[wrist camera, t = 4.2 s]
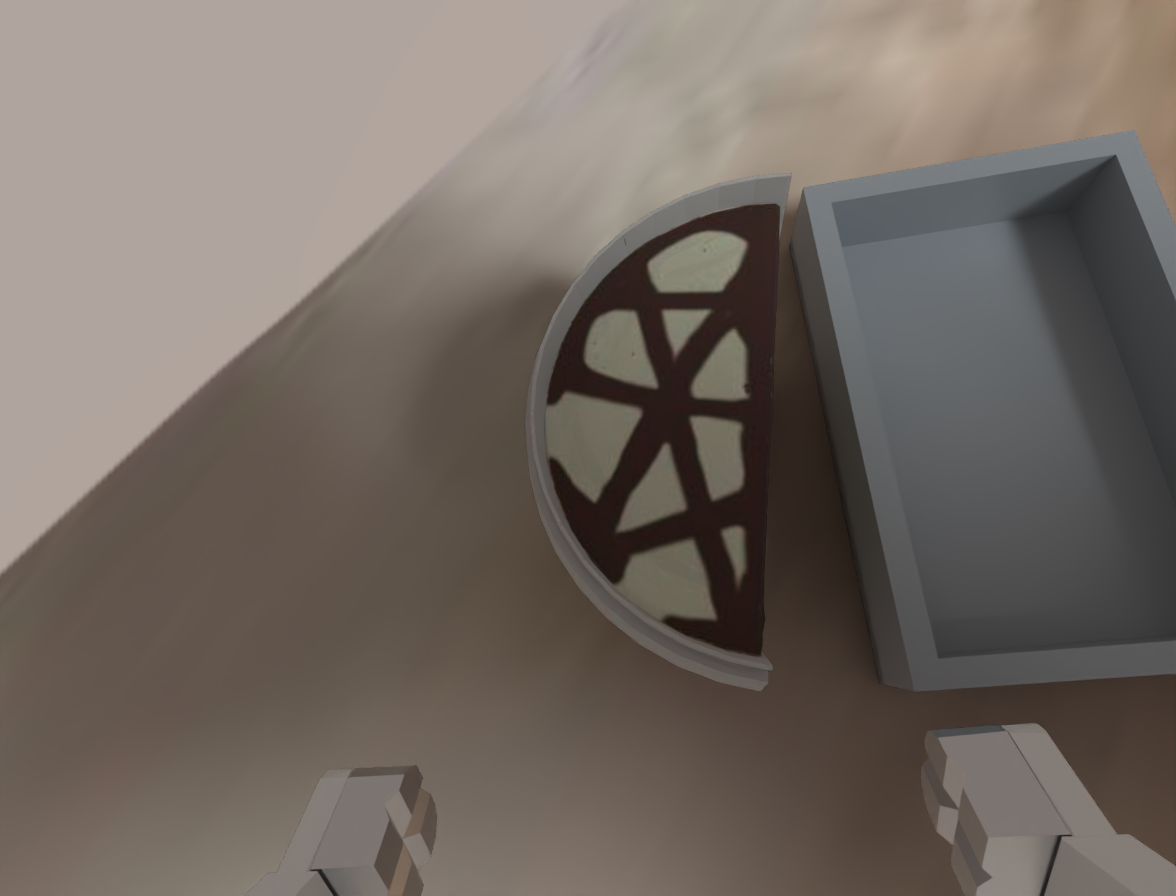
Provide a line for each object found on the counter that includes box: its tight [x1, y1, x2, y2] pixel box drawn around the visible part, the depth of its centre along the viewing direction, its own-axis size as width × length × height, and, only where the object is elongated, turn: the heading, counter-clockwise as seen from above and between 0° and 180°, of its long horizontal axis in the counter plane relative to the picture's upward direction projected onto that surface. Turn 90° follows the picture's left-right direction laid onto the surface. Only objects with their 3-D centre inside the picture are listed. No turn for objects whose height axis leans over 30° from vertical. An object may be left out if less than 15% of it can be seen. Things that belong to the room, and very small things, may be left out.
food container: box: [525, 173, 792, 692], centre depth 19 cm, size 12×6×10 cm, turn 173°
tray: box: [789, 130, 1176, 692], centre depth 21 cm, size 11×17×4 cm, turn 5°
